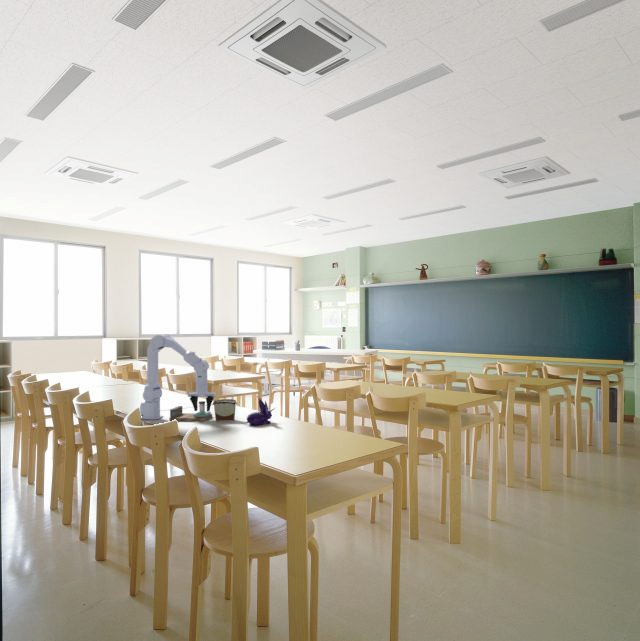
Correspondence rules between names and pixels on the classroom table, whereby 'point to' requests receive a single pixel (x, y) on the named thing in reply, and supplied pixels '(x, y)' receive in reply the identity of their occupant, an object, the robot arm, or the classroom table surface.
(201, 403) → the teal plate with post
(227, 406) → the food container
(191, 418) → the bench base
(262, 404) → the creature
